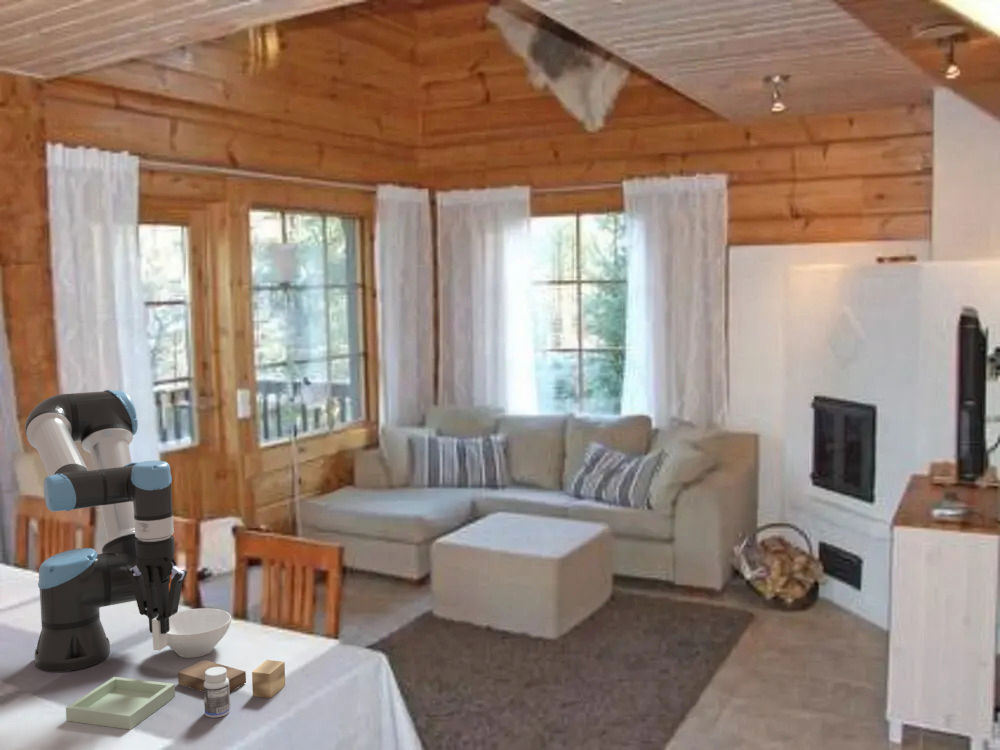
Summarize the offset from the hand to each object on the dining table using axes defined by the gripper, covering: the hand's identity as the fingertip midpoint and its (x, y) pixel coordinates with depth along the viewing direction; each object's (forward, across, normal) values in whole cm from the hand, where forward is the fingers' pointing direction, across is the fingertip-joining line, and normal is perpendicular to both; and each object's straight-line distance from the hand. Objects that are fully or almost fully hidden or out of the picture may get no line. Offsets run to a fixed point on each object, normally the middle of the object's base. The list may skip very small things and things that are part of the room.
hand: (160, 647), depth 194 cm
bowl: (+7, -1, +14) cm, 16 cm away
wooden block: (+7, +25, 0) cm, 26 cm away
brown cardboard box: (+7, +12, 0) cm, 14 cm away
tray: (+7, +1, -14) cm, 15 cm away
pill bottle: (+7, +20, -11) cm, 23 cm away
